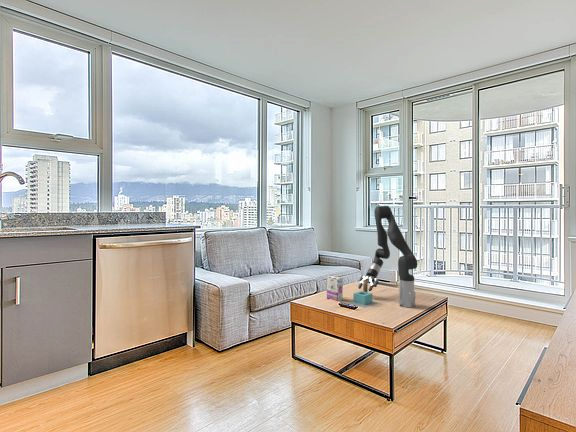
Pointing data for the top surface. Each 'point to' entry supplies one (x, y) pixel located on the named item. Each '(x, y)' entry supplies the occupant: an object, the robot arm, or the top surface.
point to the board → (363, 305)
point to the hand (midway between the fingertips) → (364, 289)
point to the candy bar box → (334, 288)
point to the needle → (365, 285)
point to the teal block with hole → (362, 297)
